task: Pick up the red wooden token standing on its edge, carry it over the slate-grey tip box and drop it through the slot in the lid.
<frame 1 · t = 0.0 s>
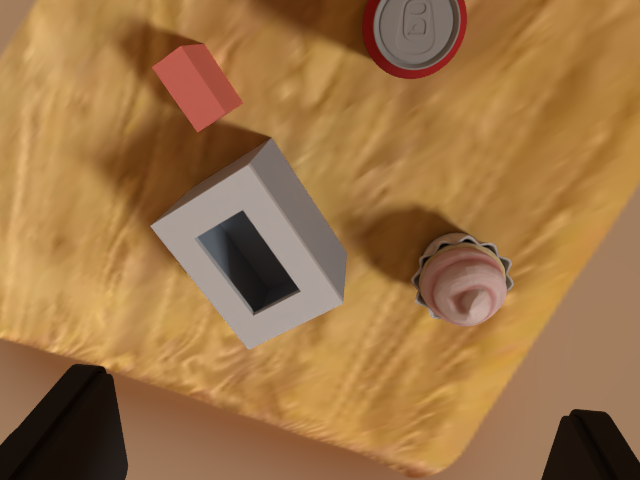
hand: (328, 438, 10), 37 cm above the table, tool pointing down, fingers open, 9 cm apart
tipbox: (269, 221, 49), on the table
beverage can: (402, 25, 41), on the table
cupcake: (452, 258, 49), on the table
token: (211, 83, 44), on the table
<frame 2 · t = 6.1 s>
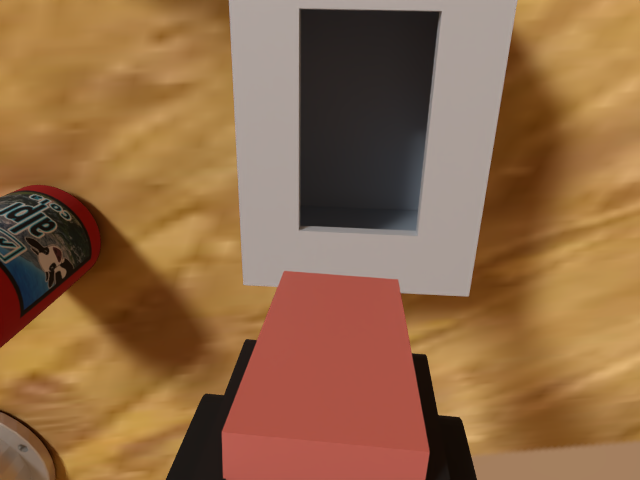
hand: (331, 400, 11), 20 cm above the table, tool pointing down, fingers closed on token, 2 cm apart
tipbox: (361, 99, 28), on the table
beverage can: (60, 227, 32), on the table
token: (334, 372, 13), point 18 cm above the table, touching gripper
when the fingers open (12 cm above the table, at t = 8.2 s): token drops 6 cm and tips over, resting on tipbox.
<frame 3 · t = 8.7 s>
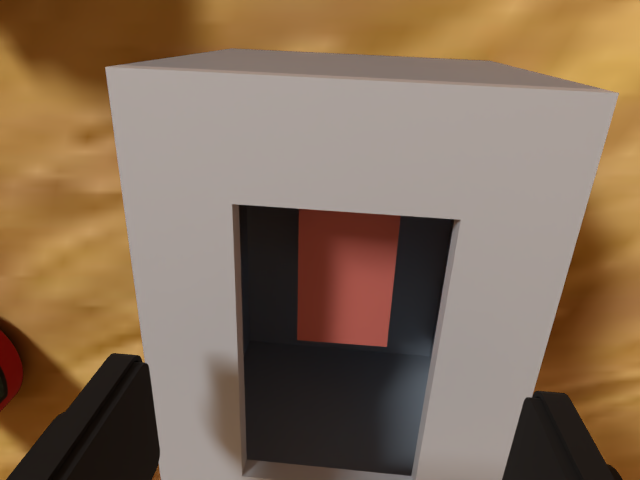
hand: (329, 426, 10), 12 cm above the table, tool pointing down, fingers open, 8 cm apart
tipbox: (347, 222, 21), on the table
token: (345, 297, 19), point 4 cm above the table, tilted 90°, touching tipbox
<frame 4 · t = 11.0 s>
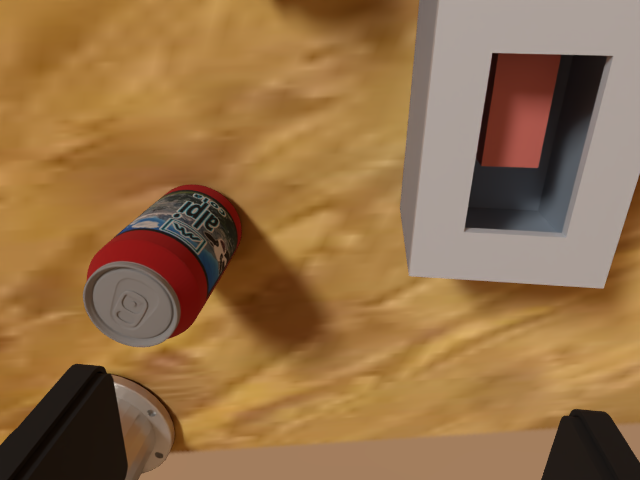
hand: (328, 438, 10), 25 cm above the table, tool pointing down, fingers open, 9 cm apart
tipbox: (486, 112, 31), on the table
beverage can: (202, 221, 37), on the table
token: (496, 152, 29), point 4 cm above the table, tilted 90°, touching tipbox
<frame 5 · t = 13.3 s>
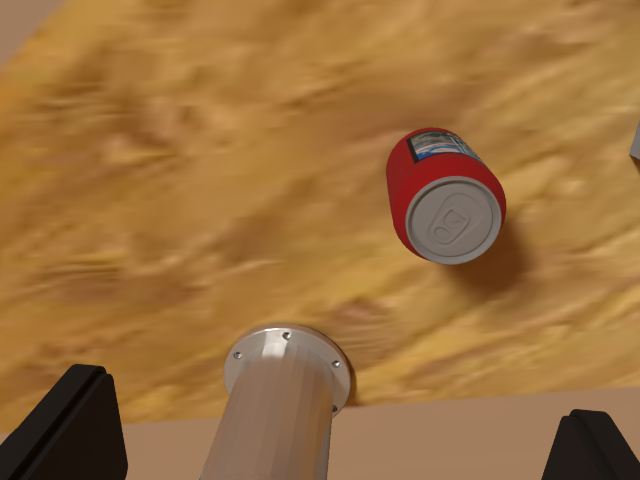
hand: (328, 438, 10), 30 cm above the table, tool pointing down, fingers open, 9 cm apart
beverage can: (427, 167, 38), on the table
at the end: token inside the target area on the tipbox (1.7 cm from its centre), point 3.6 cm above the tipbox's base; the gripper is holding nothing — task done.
